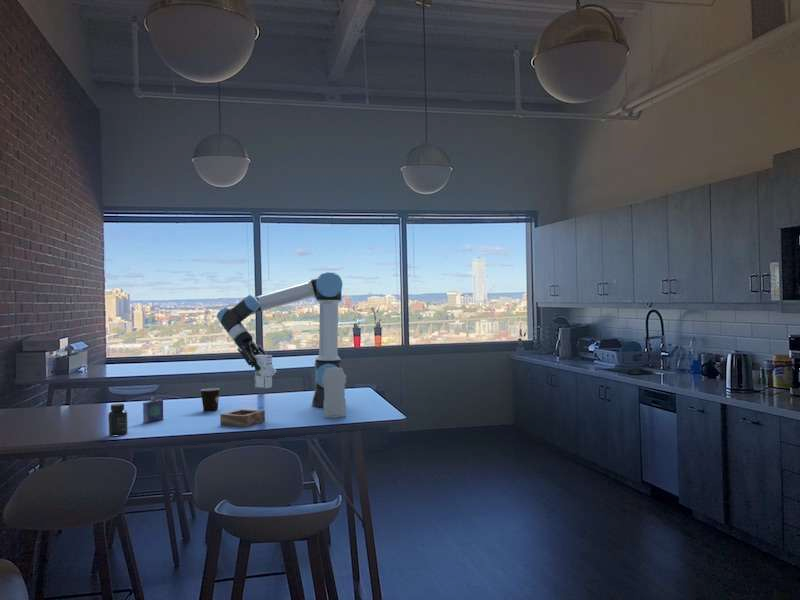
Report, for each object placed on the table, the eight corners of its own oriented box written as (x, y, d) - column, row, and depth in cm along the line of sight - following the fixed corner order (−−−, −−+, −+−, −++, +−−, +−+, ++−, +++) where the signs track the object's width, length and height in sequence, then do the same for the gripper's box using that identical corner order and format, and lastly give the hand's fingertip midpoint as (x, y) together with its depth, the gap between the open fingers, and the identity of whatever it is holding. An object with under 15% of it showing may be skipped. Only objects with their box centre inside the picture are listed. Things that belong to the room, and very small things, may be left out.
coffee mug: (208, 412, 293) (208, 391, 293) (197, 411, 298) (196, 390, 298) (228, 408, 303) (228, 388, 302) (217, 407, 308) (217, 386, 308)
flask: (145, 423, 271) (144, 398, 271) (141, 422, 273) (141, 398, 273) (164, 420, 278) (164, 395, 278) (161, 419, 280) (160, 395, 280)
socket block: (241, 419, 276) (240, 408, 276) (264, 421, 270) (264, 410, 270) (220, 424, 264) (220, 414, 264) (244, 427, 259) (244, 416, 259)
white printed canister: (272, 387, 281) (272, 354, 281) (264, 388, 275) (265, 355, 275) (261, 386, 283) (262, 354, 283) (253, 387, 277) (254, 354, 277)
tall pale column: (346, 415, 280) (345, 366, 280) (347, 417, 276) (346, 367, 276) (322, 416, 278) (321, 367, 277) (323, 418, 274) (322, 368, 273)
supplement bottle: (129, 432, 254) (128, 402, 253) (124, 436, 247) (124, 405, 247) (111, 433, 253) (111, 403, 252) (106, 437, 246) (105, 406, 246)
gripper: (250, 340, 294) (278, 377, 287) (221, 343, 277) (250, 382, 270) (259, 329, 292) (287, 366, 284) (230, 331, 275) (260, 371, 268)
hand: (269, 374), depth 277 cm, fingers closed on white printed canister, 6 cm apart
